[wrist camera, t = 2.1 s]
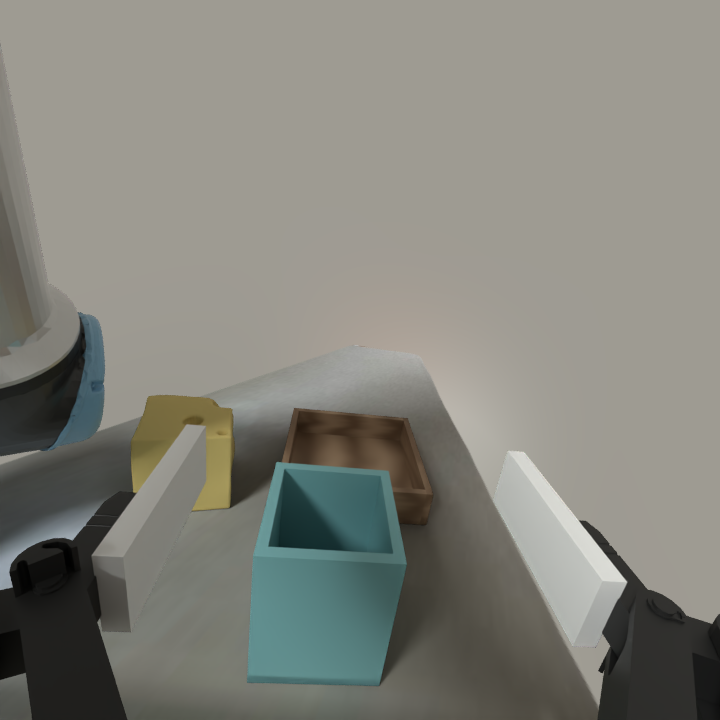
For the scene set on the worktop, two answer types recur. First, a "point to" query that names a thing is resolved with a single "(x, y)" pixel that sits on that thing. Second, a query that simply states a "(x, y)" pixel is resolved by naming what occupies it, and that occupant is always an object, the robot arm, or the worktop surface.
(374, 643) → the teal crate
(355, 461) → the walnut crate
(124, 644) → the worktop surface
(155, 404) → the cheese
